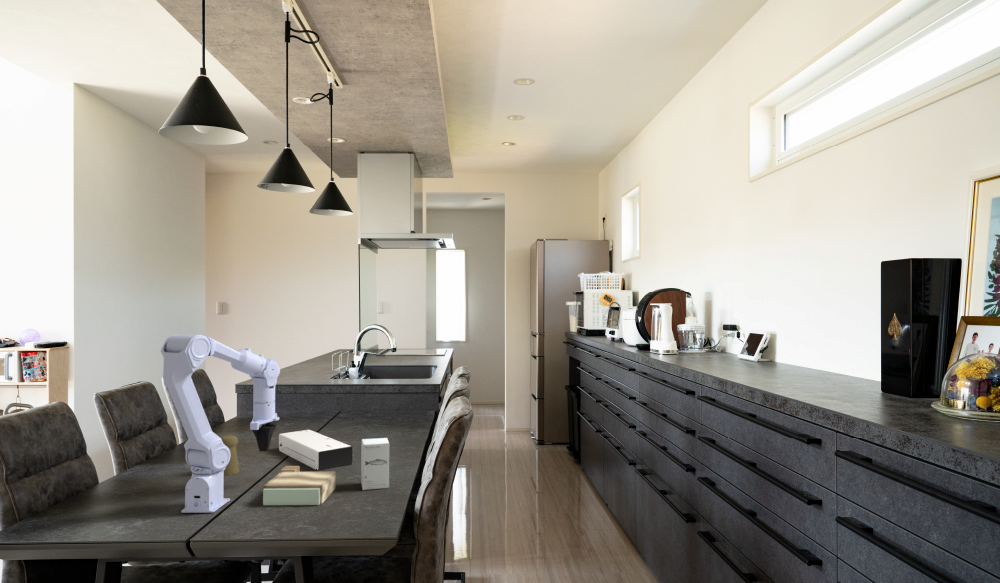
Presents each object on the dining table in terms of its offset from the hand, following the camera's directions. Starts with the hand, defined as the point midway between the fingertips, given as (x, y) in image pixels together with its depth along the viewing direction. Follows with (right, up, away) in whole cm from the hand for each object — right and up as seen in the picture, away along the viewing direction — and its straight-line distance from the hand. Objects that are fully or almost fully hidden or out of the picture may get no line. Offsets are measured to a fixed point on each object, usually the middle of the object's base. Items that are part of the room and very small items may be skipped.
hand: (263, 450), depth 168 cm
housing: (+13, -10, -9) cm, 19 cm away
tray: (+13, -10, -9) cm, 19 cm away
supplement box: (+31, -10, 0) cm, 33 cm away
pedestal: (+6, -10, +4) cm, 12 cm away
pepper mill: (-16, -11, +14) cm, 24 cm away
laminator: (+4, -11, +31) cm, 34 cm away
